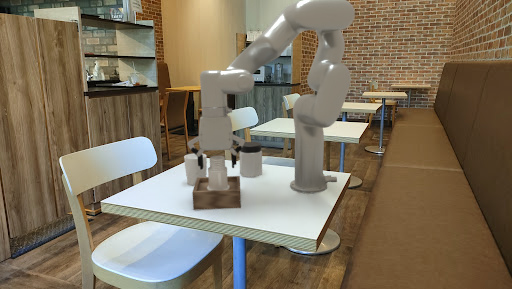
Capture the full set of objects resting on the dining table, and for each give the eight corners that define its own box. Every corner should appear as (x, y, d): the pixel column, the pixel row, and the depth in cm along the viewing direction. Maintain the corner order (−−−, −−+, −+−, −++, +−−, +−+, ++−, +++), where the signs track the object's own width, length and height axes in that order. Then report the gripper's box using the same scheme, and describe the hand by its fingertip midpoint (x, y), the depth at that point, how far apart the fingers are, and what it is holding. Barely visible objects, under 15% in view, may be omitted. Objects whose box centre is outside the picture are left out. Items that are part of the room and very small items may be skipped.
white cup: (203, 186, 126) (202, 159, 123) (182, 185, 127) (180, 158, 125) (210, 179, 133) (209, 153, 131) (190, 178, 135) (189, 152, 132)
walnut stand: (240, 191, 120) (239, 175, 119) (240, 208, 107) (240, 190, 105) (198, 193, 120) (197, 177, 118) (193, 209, 106) (192, 192, 105)
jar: (249, 179, 133) (249, 147, 130) (235, 174, 139) (234, 144, 136) (266, 173, 139) (266, 143, 137) (252, 169, 145) (251, 140, 142)
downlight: (205, 184, 115) (204, 155, 113) (227, 182, 117) (226, 153, 114) (208, 194, 108) (207, 162, 105) (231, 192, 109) (231, 160, 107)
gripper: (243, 109, 111) (245, 163, 115) (187, 111, 110) (190, 165, 114) (244, 113, 104) (246, 170, 108) (183, 115, 103) (187, 172, 107)
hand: (217, 167), depth 111 cm, fingers open, 9 cm apart
